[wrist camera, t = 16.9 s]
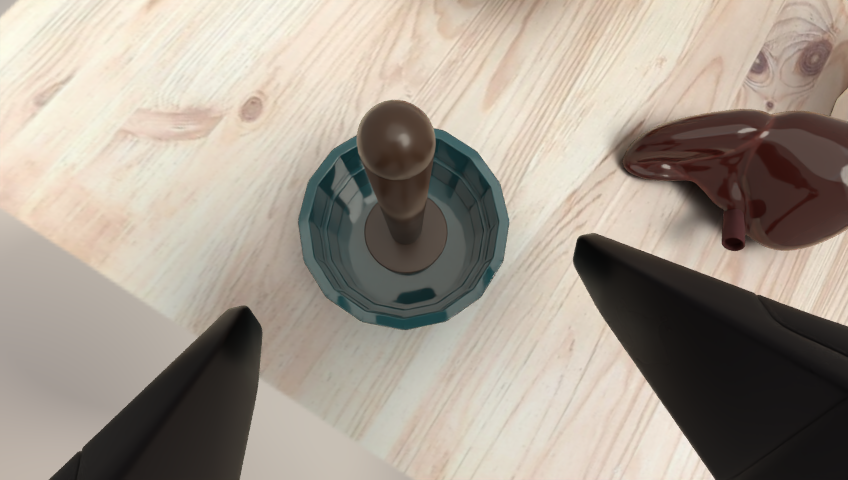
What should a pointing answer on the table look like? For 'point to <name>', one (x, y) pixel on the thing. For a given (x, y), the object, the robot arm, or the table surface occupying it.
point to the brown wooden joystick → (401, 187)
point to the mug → (841, 107)
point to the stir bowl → (377, 286)
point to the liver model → (757, 172)
